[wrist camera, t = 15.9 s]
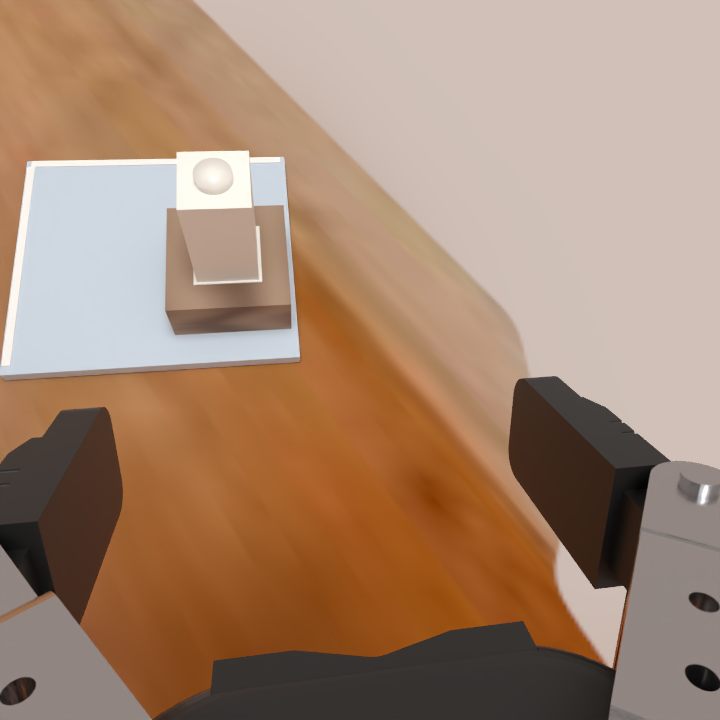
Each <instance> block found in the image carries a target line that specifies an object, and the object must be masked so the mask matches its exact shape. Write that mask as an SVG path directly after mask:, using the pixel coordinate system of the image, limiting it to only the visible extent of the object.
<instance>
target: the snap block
mask: <svg viewBox="0 0 720 720" xmlns="http://www.w3.org/2000/svg"><path fill="white" fill-rule="evenodd" d="M176 210H177V214H178V217H179V221H180V224H181V228H182V231H183V235H184V238H185V242H186V245H187V249H188V252H189V256H190V259H191V263H192V266H193V270H194V273H195V277H196V280H197V283H199V282H221V281H242V280H259V269H258V252H257V234H256V222H255V212H254V201H253V191H252V180H251V170H250V159H249V151H209V152H177V207H176Z"/></svg>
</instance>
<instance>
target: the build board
mask: <svg viewBox="0 0 720 720" xmlns="http://www.w3.org/2000/svg"><path fill="white" fill-rule="evenodd" d="M249 159H250V170H251V180H252V191H253V201H254V212H255V222H256V234H257V252H258V269H259V280H242V281H221V282H199V283H197V280H196V277H195V273H194V270H193V266H192V263H191V259H190V256H189V252H188V249H187V245H186V242H185V238H184V235H183V231H182V228H181V224H180V221H179V217H178V214H177V210H176V207H177V159H132V160H71V161H27V169H26V176H25V184H24V192H23V199H22V207H21V214H20V222H19V229H18V237H17V245H16V252H15V260H14V267H13V275H12V282H11V290H10V297H9V305H8V313H7V320H6V328H5V335H4V343H3V350H2V358H1V366H0V377H2V378H3V379H4V380H5V381H6V380H22V379H38V378H54V377H70V376H85V375H101V374H117V373H133V372H149V371H165V370H181V369H196V368H212V367H228V366H244V365H260V364H276V363H292V362H300V351H299V339H298V326H297V314H296V301H295V288H294V276H293V263H292V251H291V238H290V226H289V213H288V201H287V188H286V176H285V163H284V157H253V158H249Z"/></svg>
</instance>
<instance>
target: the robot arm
mask: <svg viewBox="0 0 720 720" xmlns="http://www.w3.org/2000/svg"><path fill="white" fill-rule="evenodd" d="M509 460H510V465H511V469H512V472H513V474H514V476H515V478H516V479H517V481H518V482H519V483H520V485H521V486H522V488H523V489H524V490H525V492H526V493H527V495H528V496H529V497H530V499H531V500H532V502H533V503H534V504H535V506H536V507H537V509H538V510H539V511H540V513H541V514H542V516H543V517H544V518H545V520H546V521H547V523H548V524H549V525H550V527H551V528H552V530H553V531H554V532H555V534H556V535H557V537H558V538H559V539H560V541H561V542H562V544H563V545H564V546H565V548H566V549H567V550H568V552H569V553H570V555H571V556H572V558H573V559H574V560H575V562H576V563H577V565H578V566H579V567H580V569H581V570H582V572H583V573H584V574H585V576H586V577H587V579H588V580H589V581H590V583H591V584H592V586H593V587H594V588H595V589H599V588H608V587H616V586H624V587H625V588H626V590H627V593H626V598H625V603H624V609H623V614H622V620H621V625H620V631H619V636H618V641H617V647H616V652H615V658H614V663H613V668H610V667H608V666H606V665H604V664H602V663H600V662H597V661H595V660H592V659H589V658H587V657H584V656H582V655H578V654H575V653H571V652H568V651H565V650H560V649H555V648H550V647H545V646H536V645H535V643H534V641H533V640H532V638H531V636H530V634H529V632H528V630H527V628H526V626H525V624H524V622H523V621H520V622H513V623H505V624H497V625H489V626H481V627H474V628H466V629H458V630H451V631H448V632H445V633H443V634H440V635H437V636H435V637H432V638H429V639H427V640H424V641H421V642H419V643H416V644H413V645H411V646H408V647H405V648H402V649H400V650H397V651H394V652H392V653H389V654H386V655H383V656H379V657H362V656H351V655H339V654H328V653H316V652H305V651H286V652H279V653H271V654H263V655H255V656H247V657H240V658H232V659H224V660H216V661H214V663H213V674H212V685H211V689H208V690H206V691H203V692H200V693H198V694H196V695H194V696H192V697H190V698H188V699H185V700H183V701H181V702H179V703H178V704H176V705H174V706H173V707H171V708H169V709H168V710H166V711H165V712H163V713H161V714H160V715H158V716H157V717H155V718H154V719H153V720H720V470H719V469H716V468H713V467H710V466H707V465H702V464H699V463H693V462H685V461H674V462H673V461H672V462H671V461H670V460H669V459H667V458H666V457H665V456H664V455H663V454H661V453H660V452H659V451H658V450H656V449H655V448H654V447H653V446H652V445H651V444H649V443H648V442H647V441H646V440H644V439H643V438H642V437H641V436H640V435H639V434H634V430H632V429H631V428H630V427H629V426H628V425H626V424H625V423H622V422H621V420H620V419H619V418H618V417H617V416H616V415H614V414H613V413H612V412H611V411H610V410H608V409H607V408H606V407H604V406H601V405H599V404H597V403H595V402H593V401H590V400H588V399H586V398H584V397H580V396H579V395H578V394H577V393H576V392H575V391H573V390H572V389H571V388H570V387H568V386H567V385H566V384H565V383H564V382H563V381H562V380H561V379H559V378H558V377H556V376H552V377H538V378H523V379H519V380H518V381H517V383H516V385H515V389H514V396H513V406H512V417H511V427H510V438H509ZM122 498H123V488H122V478H121V473H120V467H119V462H118V456H117V450H116V445H115V439H114V434H113V428H112V423H111V418H110V415H109V412H108V410H107V409H106V408H105V407H99V408H85V409H71V410H62V411H61V412H60V413H59V414H58V415H57V417H56V418H55V420H54V421H53V423H52V424H51V425H50V427H49V428H48V430H47V431H46V433H45V434H44V435H43V437H40V438H31V439H30V440H28V441H27V442H25V443H24V444H22V445H21V446H19V447H17V448H16V449H14V450H13V451H11V452H10V453H8V455H7V456H6V457H5V458H4V460H3V461H2V462H1V464H0V720H152V719H151V718H150V716H149V715H148V714H147V713H146V711H145V710H144V709H143V707H142V706H141V705H140V703H139V702H138V701H137V700H136V698H135V697H134V696H133V694H132V693H131V692H130V690H129V689H128V688H127V687H126V685H125V684H124V683H123V681H122V680H121V679H120V677H119V676H118V675H117V674H116V672H115V671H114V670H113V668H112V667H111V666H110V664H109V663H108V662H107V661H106V659H105V658H104V657H103V655H102V654H101V653H100V651H99V650H98V649H97V647H96V646H95V645H94V644H93V642H92V641H91V640H90V638H89V637H88V636H87V634H86V633H85V632H84V631H83V629H82V628H81V627H80V622H81V620H82V617H83V614H84V611H85V609H86V606H87V603H88V600H89V598H90V595H91V592H92V589H93V587H94V584H95V581H96V578H97V576H98V573H99V570H100V567H101V565H102V562H103V559H104V556H105V554H106V551H107V548H108V545H109V543H110V540H111V537H112V534H113V532H114V529H115V526H116V523H117V521H118V518H119V515H120V512H121V507H122Z"/></svg>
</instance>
